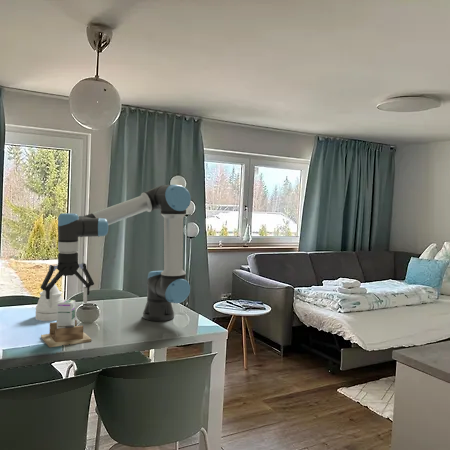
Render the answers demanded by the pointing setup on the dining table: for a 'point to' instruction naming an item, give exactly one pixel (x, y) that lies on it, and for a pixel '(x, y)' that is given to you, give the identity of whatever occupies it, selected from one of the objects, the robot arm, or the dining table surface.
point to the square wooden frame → (65, 335)
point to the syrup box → (65, 313)
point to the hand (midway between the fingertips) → (68, 305)
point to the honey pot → (42, 306)
